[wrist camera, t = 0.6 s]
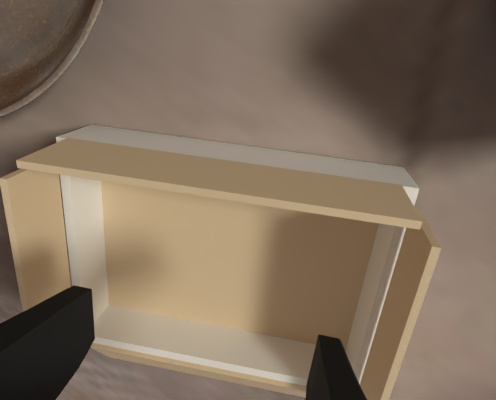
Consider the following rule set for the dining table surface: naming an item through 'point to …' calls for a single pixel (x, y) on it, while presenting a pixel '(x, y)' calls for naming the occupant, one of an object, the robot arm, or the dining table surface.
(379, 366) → the flap
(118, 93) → the dining table surface
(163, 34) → the dining table surface
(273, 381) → the carton
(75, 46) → the plant saucer
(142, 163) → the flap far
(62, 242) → the flap
